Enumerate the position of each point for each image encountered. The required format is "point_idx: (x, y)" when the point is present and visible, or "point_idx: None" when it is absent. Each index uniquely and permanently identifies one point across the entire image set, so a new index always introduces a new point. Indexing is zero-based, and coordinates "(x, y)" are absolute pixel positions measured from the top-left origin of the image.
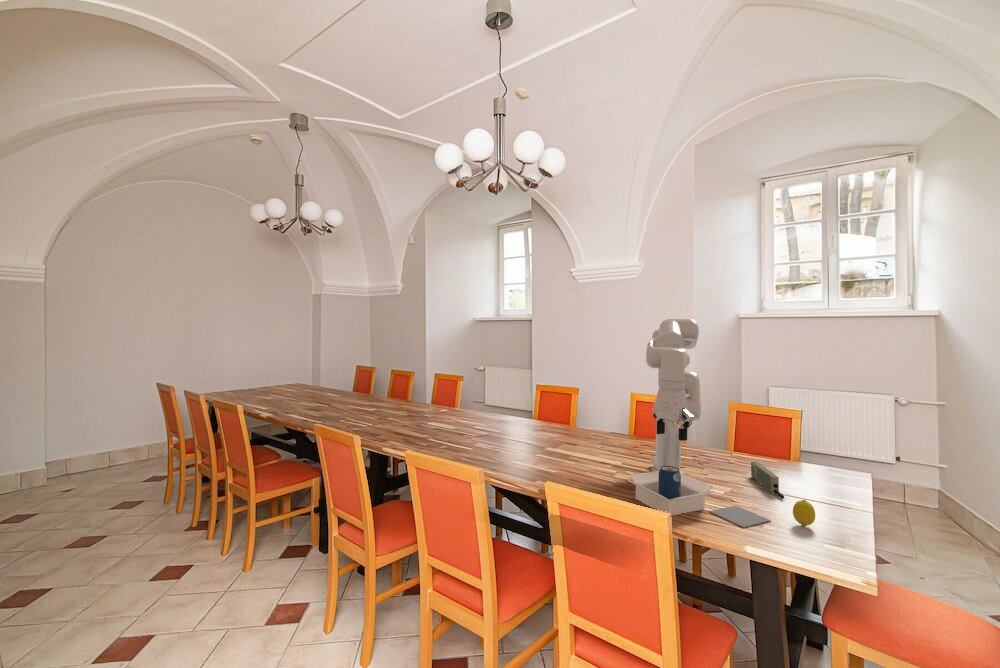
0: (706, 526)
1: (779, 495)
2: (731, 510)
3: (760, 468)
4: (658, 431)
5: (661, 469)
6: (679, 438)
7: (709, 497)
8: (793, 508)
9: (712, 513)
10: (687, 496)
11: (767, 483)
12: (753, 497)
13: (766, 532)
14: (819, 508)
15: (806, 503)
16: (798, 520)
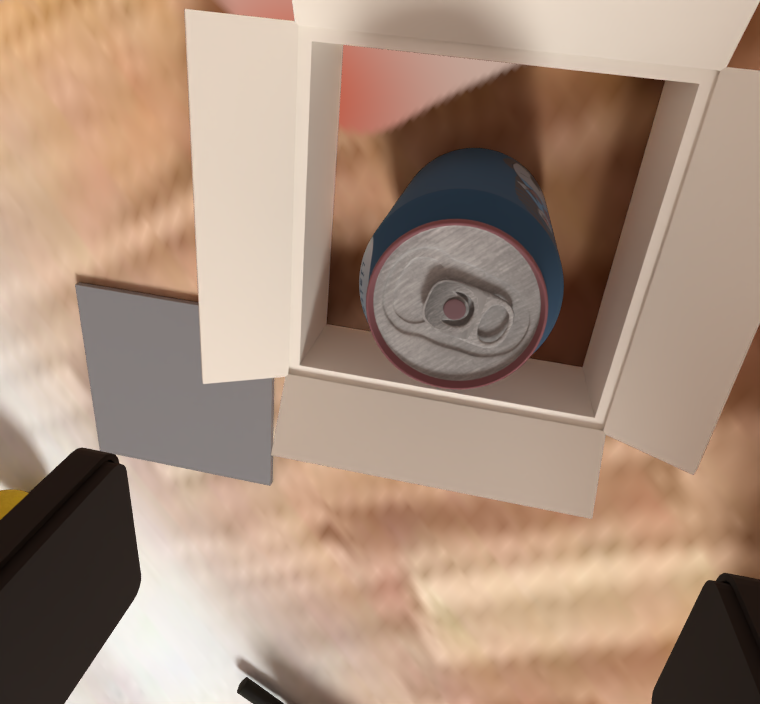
0: (146, 126)
1: (252, 689)
2: (235, 416)
3: None
4: (729, 630)
5: (503, 232)
6: (63, 467)
7: (413, 493)
8: None
9: None
10: (190, 126)
11: None
12: (314, 628)
13: (24, 328)
14: (144, 680)
15: None
16: (11, 491)
